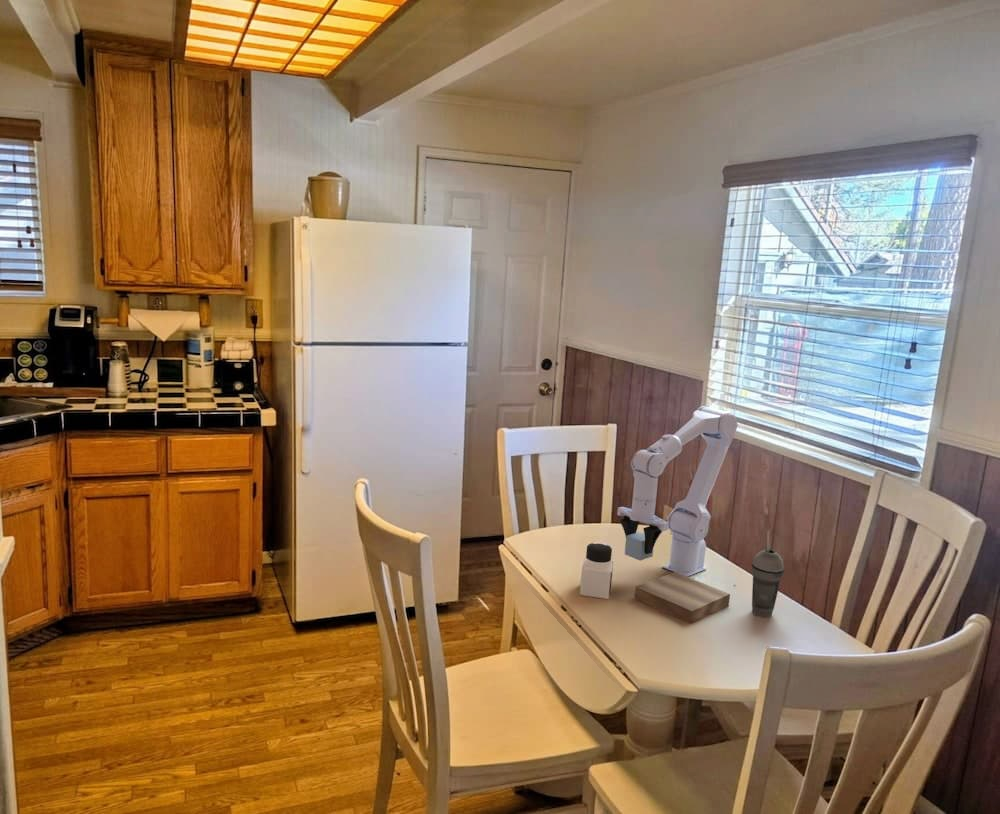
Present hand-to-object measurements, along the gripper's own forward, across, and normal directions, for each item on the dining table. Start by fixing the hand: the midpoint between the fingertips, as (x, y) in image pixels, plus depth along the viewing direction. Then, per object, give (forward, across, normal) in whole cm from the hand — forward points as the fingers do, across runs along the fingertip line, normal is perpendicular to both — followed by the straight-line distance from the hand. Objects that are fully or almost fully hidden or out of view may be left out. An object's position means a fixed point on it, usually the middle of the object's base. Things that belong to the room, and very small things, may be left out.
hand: (639, 549), depth 193 cm
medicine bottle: (+9, -2, -14) cm, 16 cm away
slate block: (+2, 0, 0) cm, 2 cm away
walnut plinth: (+8, +14, -1) cm, 17 cm away
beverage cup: (+9, +29, +10) cm, 32 cm away
